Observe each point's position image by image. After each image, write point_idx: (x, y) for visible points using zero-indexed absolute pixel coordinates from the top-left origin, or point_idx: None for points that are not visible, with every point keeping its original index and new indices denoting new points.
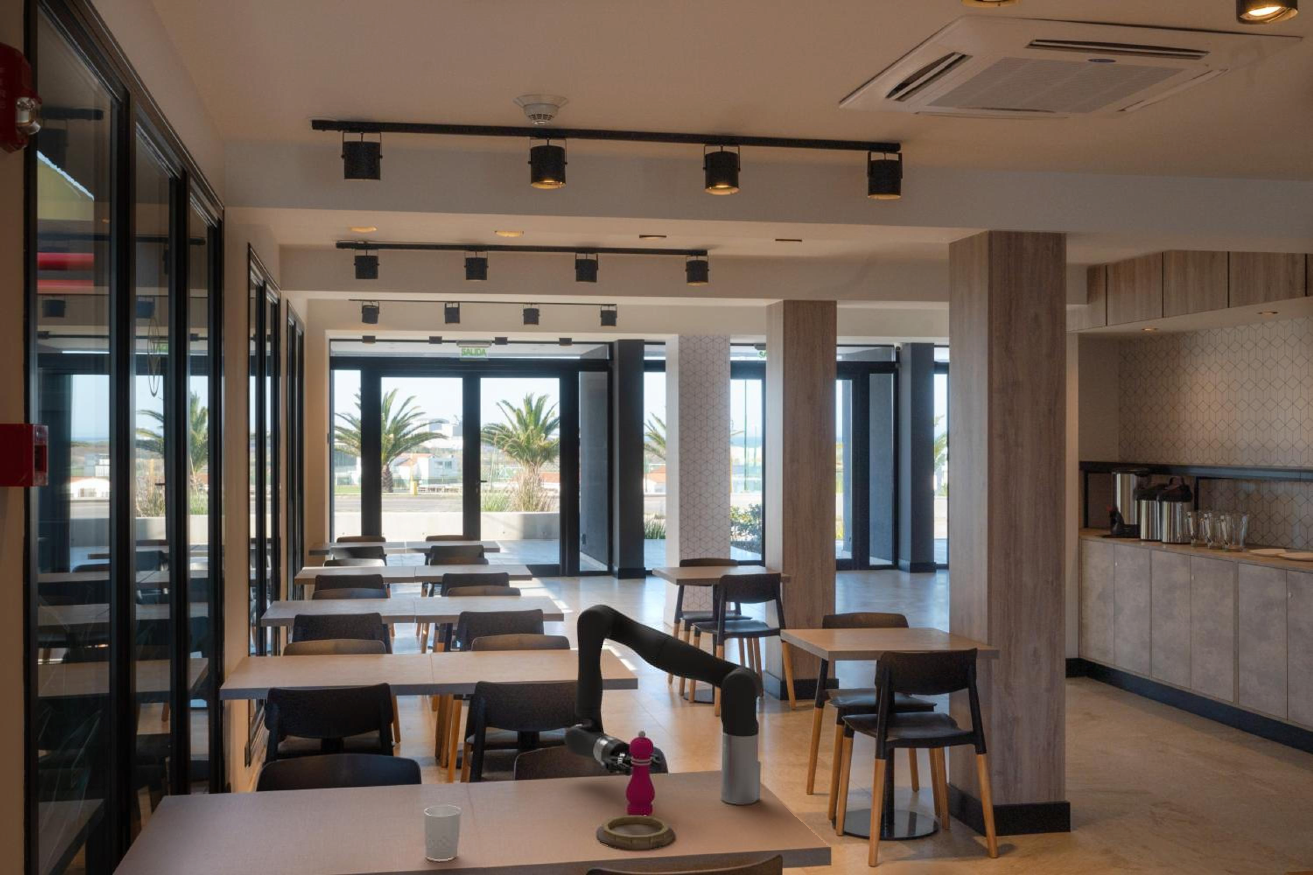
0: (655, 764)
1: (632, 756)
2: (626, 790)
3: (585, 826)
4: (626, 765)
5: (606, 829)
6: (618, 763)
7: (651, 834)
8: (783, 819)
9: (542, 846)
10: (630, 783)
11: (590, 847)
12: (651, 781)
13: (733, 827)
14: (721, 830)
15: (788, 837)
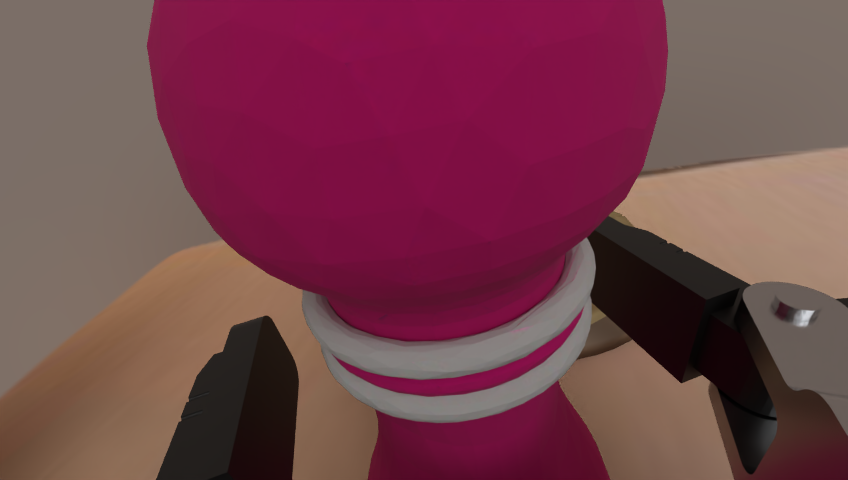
0: (268, 384)
1: (574, 268)
2: (608, 476)
3: None
4: (624, 239)
5: (616, 218)
6: (780, 288)
7: None
8: (34, 380)
9: (802, 209)
10: (571, 406)
11: (645, 215)
12: (376, 443)
13: (225, 325)
14: (273, 306)
15: (178, 276)
